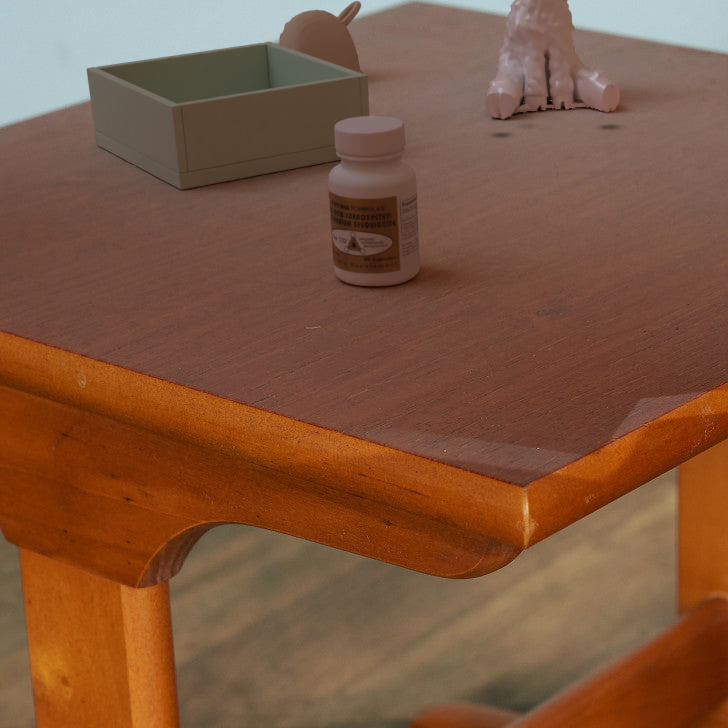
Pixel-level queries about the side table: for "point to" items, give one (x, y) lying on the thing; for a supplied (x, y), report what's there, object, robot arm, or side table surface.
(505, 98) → the white creature statuette
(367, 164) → the pill bottle
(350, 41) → the decorative ornament
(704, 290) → the side table surface
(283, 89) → the open storage bin
